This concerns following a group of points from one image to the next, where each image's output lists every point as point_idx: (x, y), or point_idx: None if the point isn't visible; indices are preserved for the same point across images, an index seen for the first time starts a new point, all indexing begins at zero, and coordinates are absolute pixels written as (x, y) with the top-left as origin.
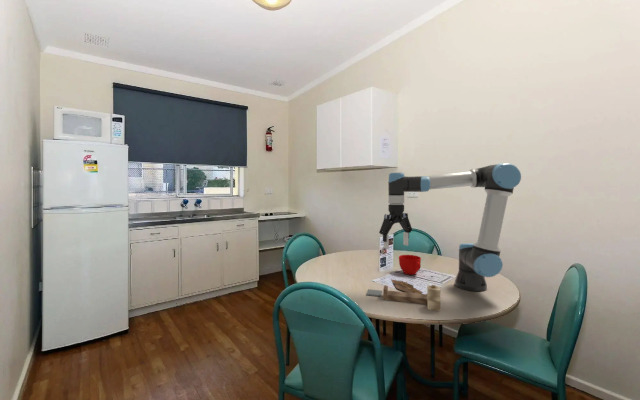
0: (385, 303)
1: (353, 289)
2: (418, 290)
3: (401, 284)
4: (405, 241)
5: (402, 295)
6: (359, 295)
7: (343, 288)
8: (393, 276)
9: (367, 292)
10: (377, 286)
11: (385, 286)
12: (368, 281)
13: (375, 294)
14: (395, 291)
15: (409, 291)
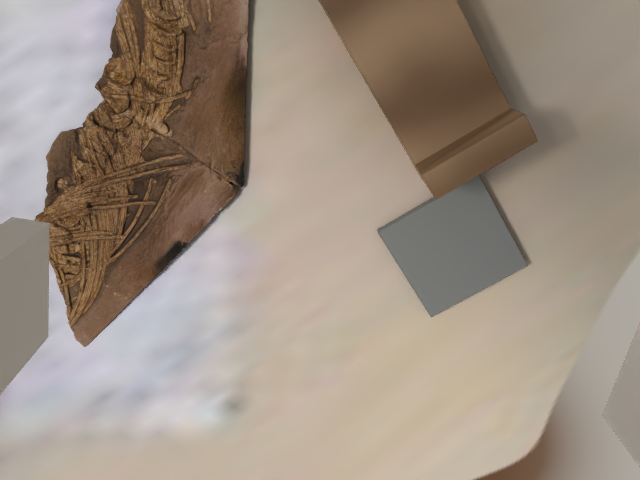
0: (569, 64)
1: (488, 388)
2: (121, 34)
3: (117, 221)
4: (3, 323)
5: (429, 3)
6: (560, 290)
7: (521, 440)
8: None
9: (493, 279)
10: (304, 320)
11: (455, 175)
12: (267, 425)
13: (487, 215)
14: (387, 105)
15: (206, 77)
